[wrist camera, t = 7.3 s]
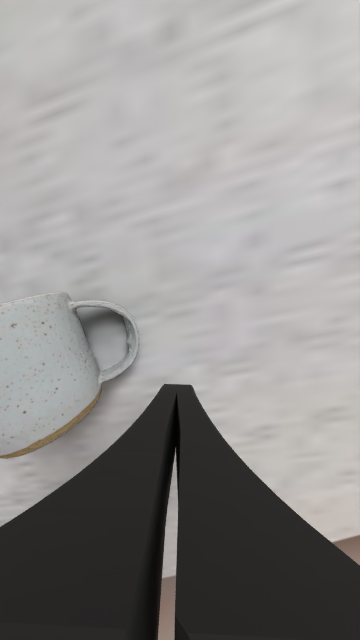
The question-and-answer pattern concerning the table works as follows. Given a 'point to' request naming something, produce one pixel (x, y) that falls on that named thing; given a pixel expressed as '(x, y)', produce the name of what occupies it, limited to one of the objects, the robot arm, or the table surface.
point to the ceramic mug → (49, 369)
